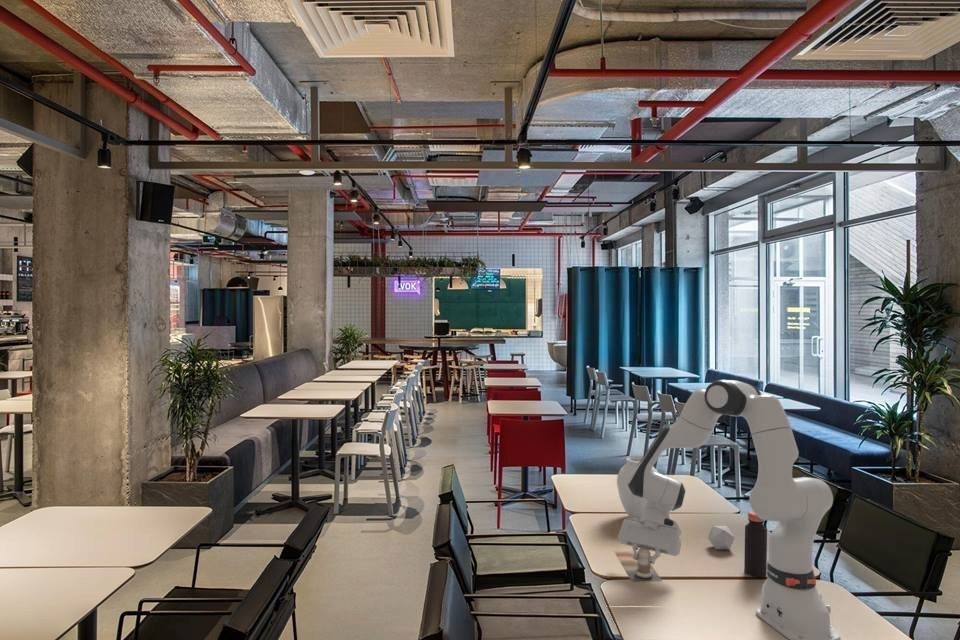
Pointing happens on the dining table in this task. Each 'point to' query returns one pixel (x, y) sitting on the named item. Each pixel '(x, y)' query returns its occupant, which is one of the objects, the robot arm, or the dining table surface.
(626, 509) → the vase
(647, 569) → the pawn
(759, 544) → the bottle
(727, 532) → the die
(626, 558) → the game board
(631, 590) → the dining table surface
